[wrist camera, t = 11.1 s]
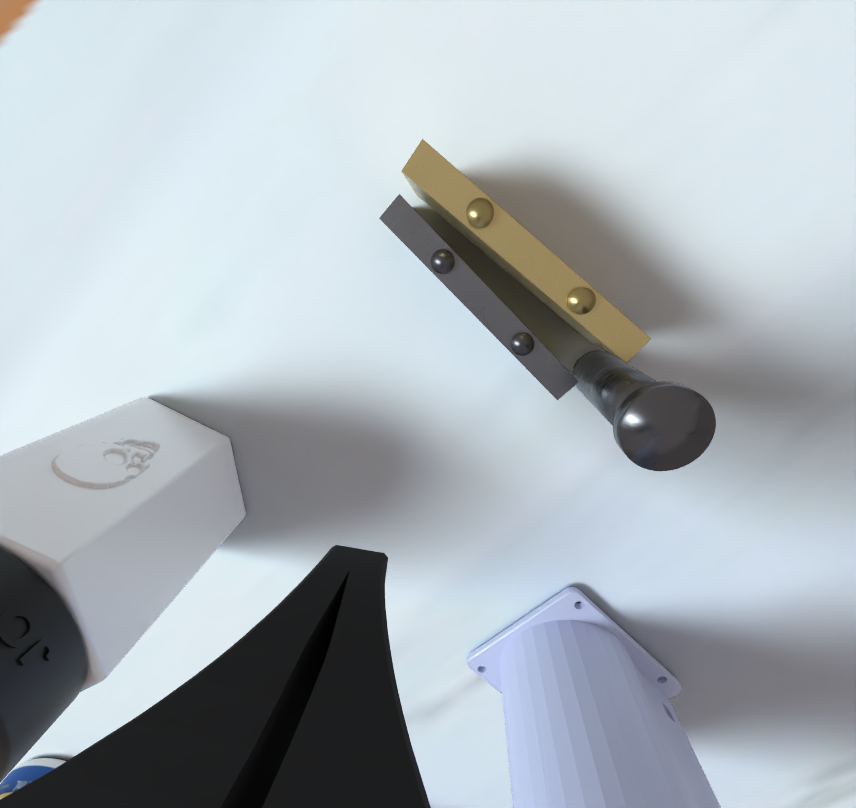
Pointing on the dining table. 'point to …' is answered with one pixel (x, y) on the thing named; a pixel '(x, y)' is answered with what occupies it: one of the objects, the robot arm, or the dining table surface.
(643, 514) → the dining table surface
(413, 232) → the hinge base
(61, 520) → the jar
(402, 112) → the dining table surface
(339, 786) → the robot arm
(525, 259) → the brass leaf
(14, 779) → the beverage bottle
